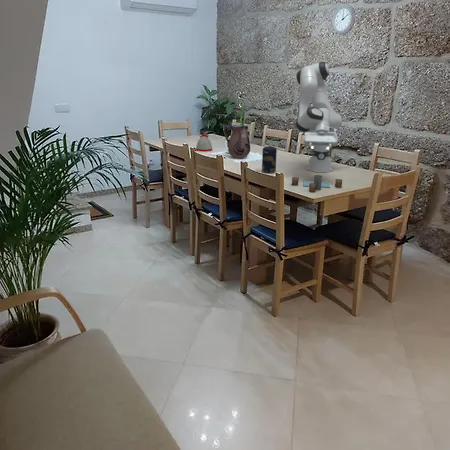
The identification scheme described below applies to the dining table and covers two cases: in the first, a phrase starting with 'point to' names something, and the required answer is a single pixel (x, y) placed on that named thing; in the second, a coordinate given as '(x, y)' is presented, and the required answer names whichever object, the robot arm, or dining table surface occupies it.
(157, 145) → the dining table surface
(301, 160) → the dining table surface
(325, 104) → the robot arm
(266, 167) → the canister
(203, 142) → the bell with red bow
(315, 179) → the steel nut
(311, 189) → the spacer posts
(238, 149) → the ceramic pitcher
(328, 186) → the pad
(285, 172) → the dining table surface
